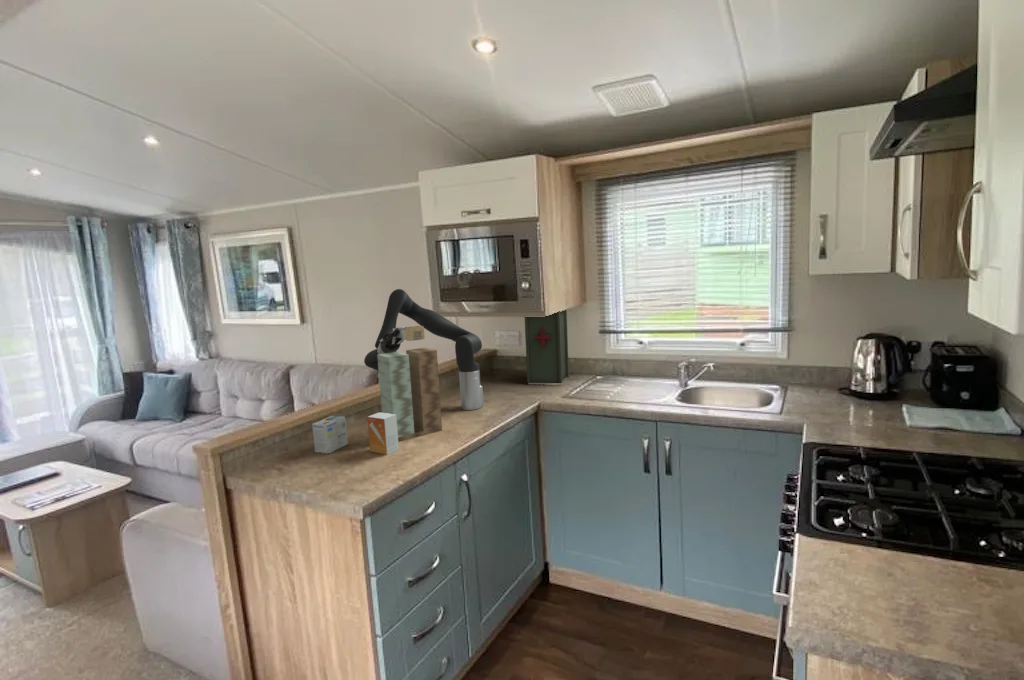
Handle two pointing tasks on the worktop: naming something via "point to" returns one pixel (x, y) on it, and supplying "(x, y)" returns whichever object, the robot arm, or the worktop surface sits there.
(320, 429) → the light bulb box
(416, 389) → the green brown tall block
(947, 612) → the worktop surface
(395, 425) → the small box
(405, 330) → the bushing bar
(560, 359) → the first aid box
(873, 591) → the worktop surface
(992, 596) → the worktop surface
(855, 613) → the worktop surface
